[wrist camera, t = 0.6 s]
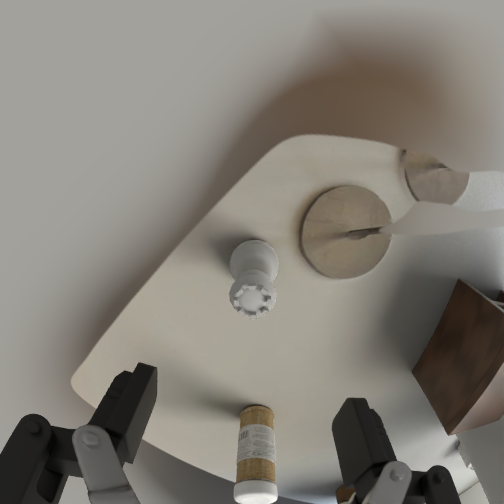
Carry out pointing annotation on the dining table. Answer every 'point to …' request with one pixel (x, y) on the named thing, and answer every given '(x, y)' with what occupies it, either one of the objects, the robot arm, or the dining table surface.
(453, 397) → the wooden lidded box
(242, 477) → the sprinkles bottle
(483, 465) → the cylinder vase
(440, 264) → the dining table surface
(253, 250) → the rook chess piece
